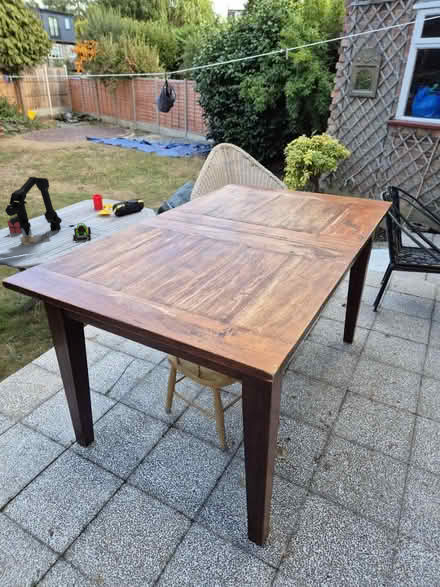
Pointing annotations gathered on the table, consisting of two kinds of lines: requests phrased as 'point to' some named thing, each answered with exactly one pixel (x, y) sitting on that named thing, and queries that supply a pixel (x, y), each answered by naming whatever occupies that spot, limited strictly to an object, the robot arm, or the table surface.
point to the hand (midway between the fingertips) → (27, 234)
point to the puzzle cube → (14, 227)
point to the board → (39, 239)
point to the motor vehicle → (82, 232)
